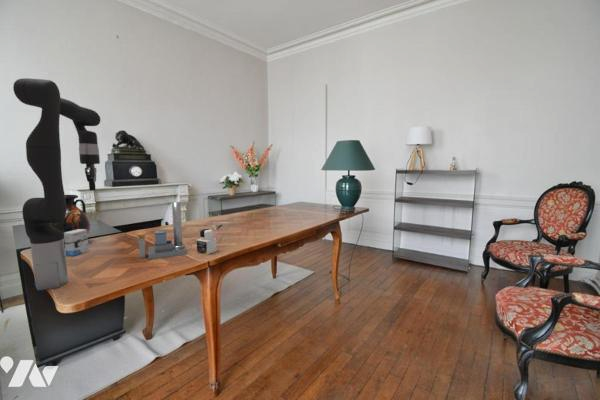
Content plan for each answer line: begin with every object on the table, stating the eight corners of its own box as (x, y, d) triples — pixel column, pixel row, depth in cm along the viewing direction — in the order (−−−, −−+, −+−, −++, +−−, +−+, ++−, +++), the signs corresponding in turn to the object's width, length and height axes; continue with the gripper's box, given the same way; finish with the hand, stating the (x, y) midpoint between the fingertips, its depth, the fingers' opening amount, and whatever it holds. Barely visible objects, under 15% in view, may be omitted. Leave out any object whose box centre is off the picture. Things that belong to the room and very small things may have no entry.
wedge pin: (146, 255, 137) (145, 233, 136) (138, 256, 136) (137, 234, 134) (147, 253, 141) (145, 232, 139) (138, 254, 139) (137, 232, 137)
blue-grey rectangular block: (167, 249, 141) (166, 232, 140) (156, 250, 138) (154, 233, 137) (166, 246, 145) (165, 230, 144) (155, 248, 143) (154, 231, 142)
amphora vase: (49, 253, 141) (42, 199, 137) (37, 246, 153) (31, 196, 149) (98, 244, 158) (94, 195, 155) (84, 238, 170) (79, 193, 167)
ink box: (73, 256, 137) (71, 233, 136) (65, 255, 138) (63, 232, 137) (89, 251, 146) (87, 229, 144) (82, 250, 147) (79, 228, 145)
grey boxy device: (196, 253, 144) (195, 230, 142) (207, 249, 150) (206, 227, 148) (206, 255, 140) (205, 232, 139) (217, 251, 147) (216, 229, 145)
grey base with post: (186, 254, 141) (184, 203, 138) (139, 260, 132) (135, 206, 128) (183, 247, 154) (181, 200, 150) (140, 252, 144) (137, 202, 140)
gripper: (96, 153, 127) (99, 191, 130) (101, 154, 139) (104, 188, 141) (76, 153, 124) (79, 191, 126) (82, 154, 135) (85, 189, 138)
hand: (92, 190), depth 134 cm, fingers closed
